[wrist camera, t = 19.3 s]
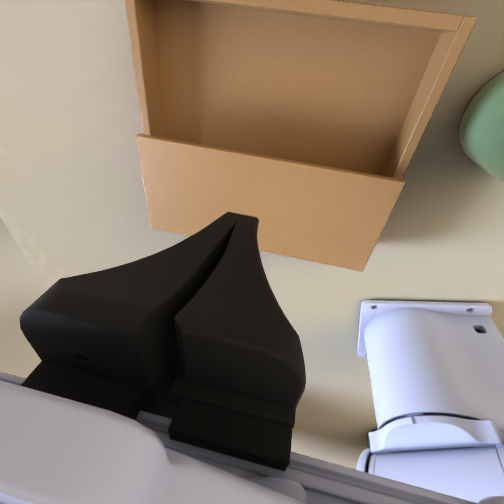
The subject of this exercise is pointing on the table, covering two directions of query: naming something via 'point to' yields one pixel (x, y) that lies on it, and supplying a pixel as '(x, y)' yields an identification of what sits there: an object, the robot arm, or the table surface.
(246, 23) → the carton
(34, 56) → the table surface
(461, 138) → the pot
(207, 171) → the flap
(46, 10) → the table surface
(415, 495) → the robot arm
